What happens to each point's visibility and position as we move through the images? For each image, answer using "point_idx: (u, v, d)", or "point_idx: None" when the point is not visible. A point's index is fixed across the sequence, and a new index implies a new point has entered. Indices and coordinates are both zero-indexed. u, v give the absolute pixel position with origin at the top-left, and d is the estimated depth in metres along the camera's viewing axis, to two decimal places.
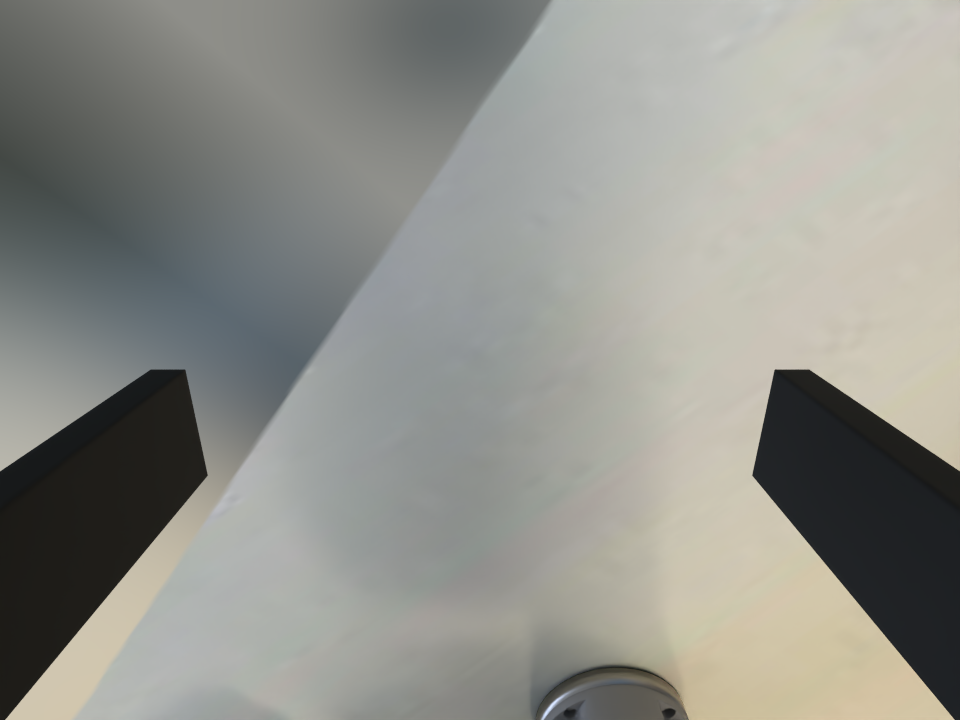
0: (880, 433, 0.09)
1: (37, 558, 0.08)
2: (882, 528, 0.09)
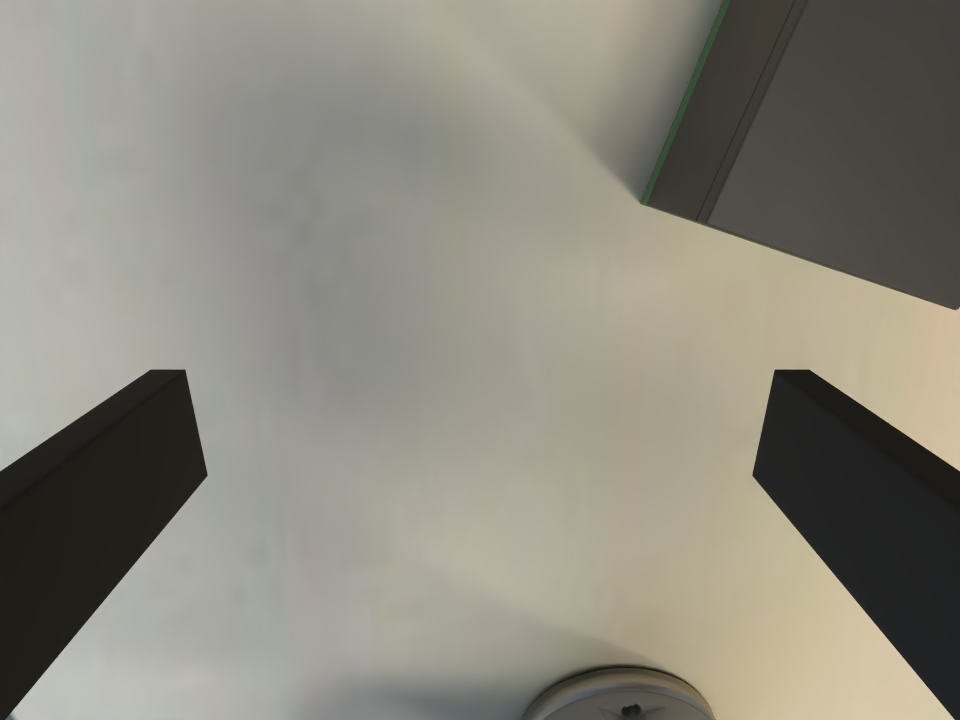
0: (880, 433, 0.09)
1: (37, 558, 0.08)
2: (881, 528, 0.09)
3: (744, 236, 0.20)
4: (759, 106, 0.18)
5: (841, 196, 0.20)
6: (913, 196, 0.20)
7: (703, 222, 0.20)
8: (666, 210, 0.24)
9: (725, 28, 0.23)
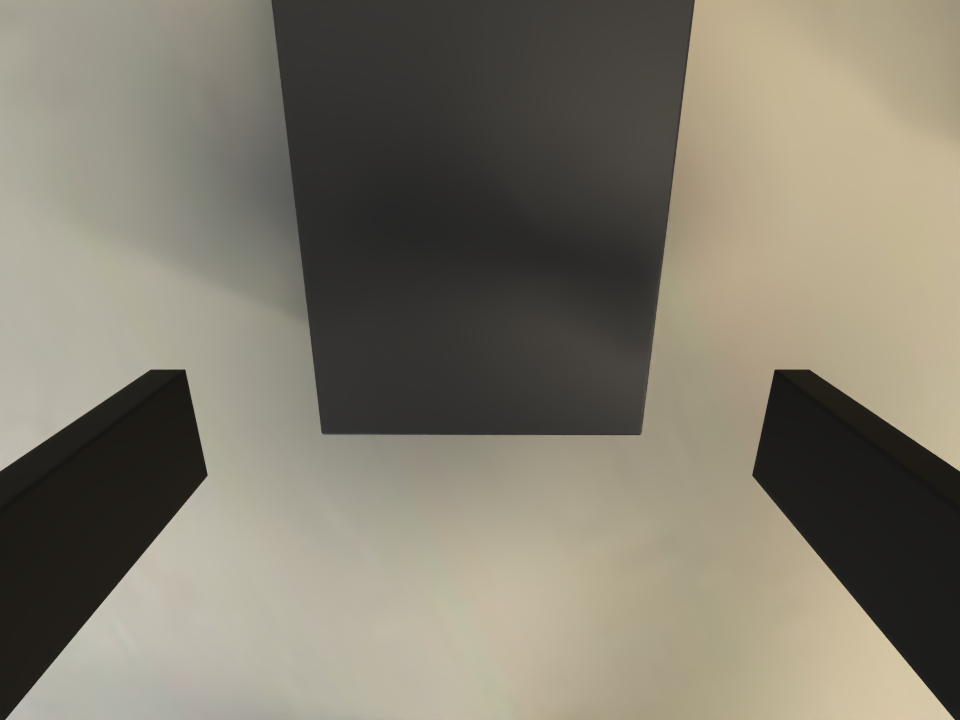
0: (880, 433, 0.09)
1: (37, 558, 0.08)
2: (881, 528, 0.09)
3: (368, 434, 0.18)
4: (308, 317, 0.17)
5: (445, 370, 0.17)
6: (523, 347, 0.17)
7: None
8: None
9: None
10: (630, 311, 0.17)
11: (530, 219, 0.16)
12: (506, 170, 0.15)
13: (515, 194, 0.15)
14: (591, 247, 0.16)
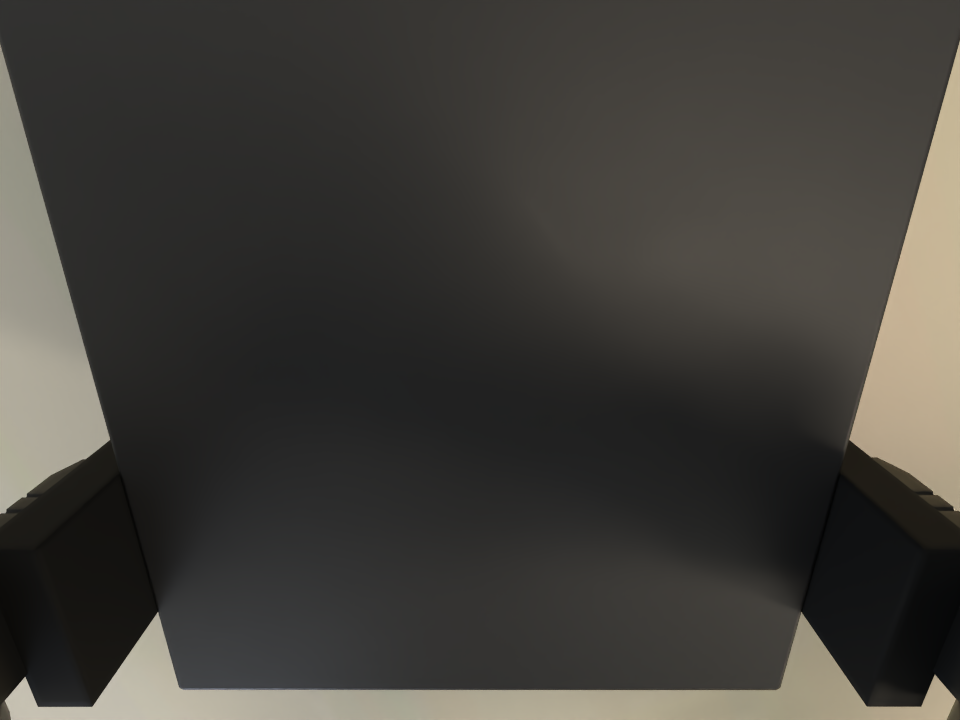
0: None
1: None
2: None
3: (266, 689, 0.10)
4: (126, 496, 0.08)
5: (407, 588, 0.09)
6: (562, 549, 0.09)
7: None
8: None
9: None
10: (784, 485, 0.08)
11: (585, 308, 0.07)
12: (534, 204, 0.07)
13: (553, 255, 0.07)
14: (714, 364, 0.07)
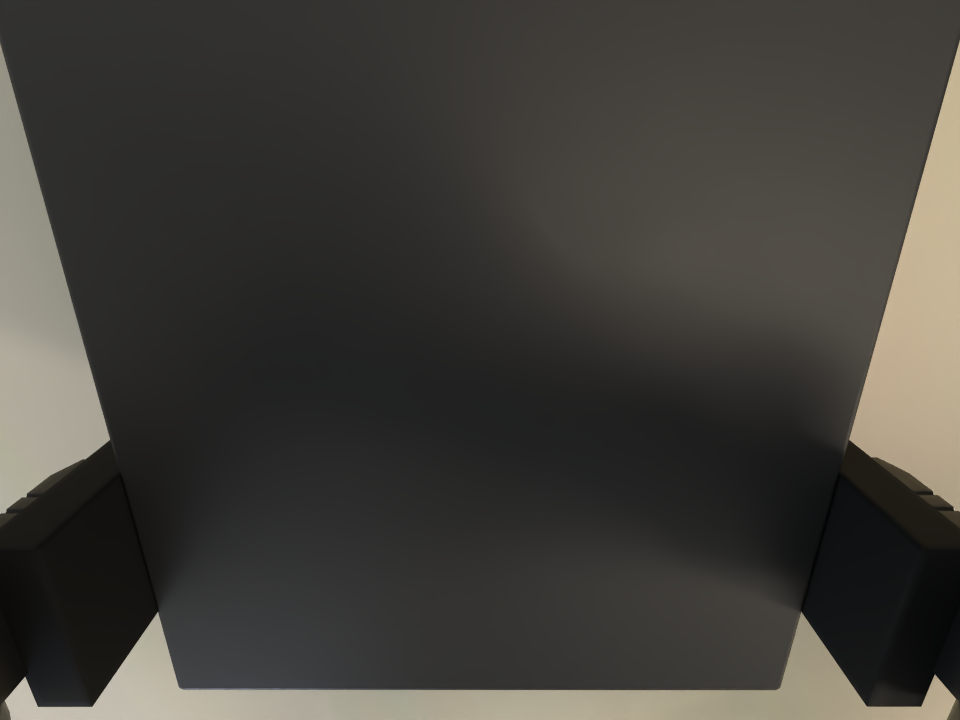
0: None
1: None
2: None
3: (266, 689, 0.10)
4: (126, 496, 0.08)
5: (407, 588, 0.09)
6: (562, 549, 0.09)
7: None
8: None
9: None
10: (784, 486, 0.08)
11: (585, 308, 0.07)
12: (535, 204, 0.07)
13: (553, 255, 0.07)
14: (714, 364, 0.07)
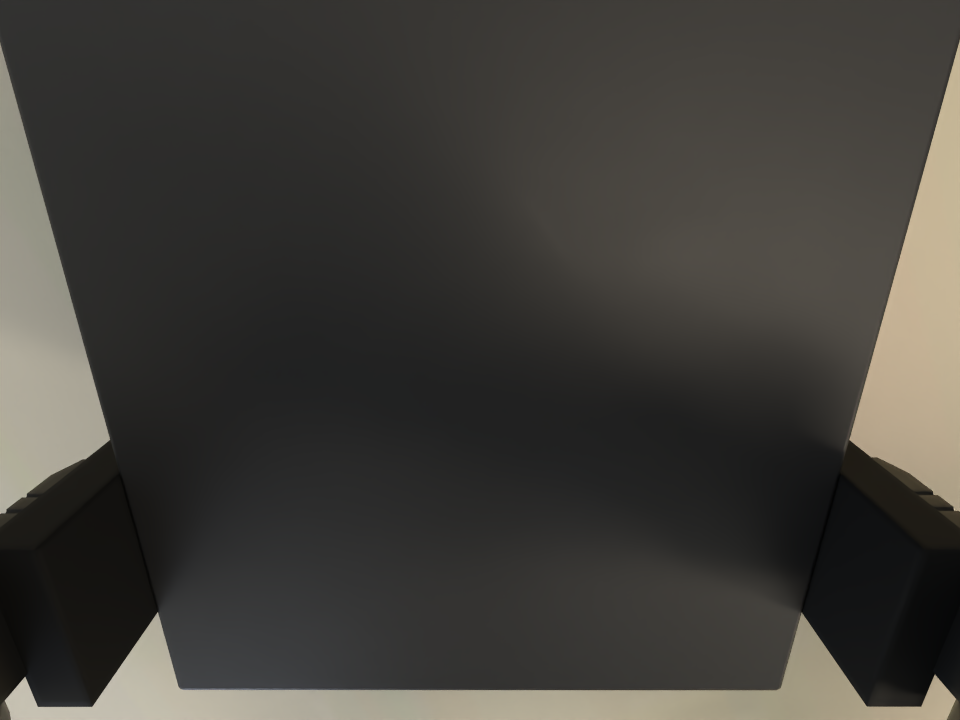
0: None
1: None
2: None
3: (266, 689, 0.10)
4: (126, 496, 0.08)
5: (407, 588, 0.09)
6: (562, 548, 0.09)
7: None
8: None
9: None
10: (784, 485, 0.08)
11: (585, 307, 0.07)
12: (535, 202, 0.07)
13: (553, 254, 0.07)
14: (714, 364, 0.07)
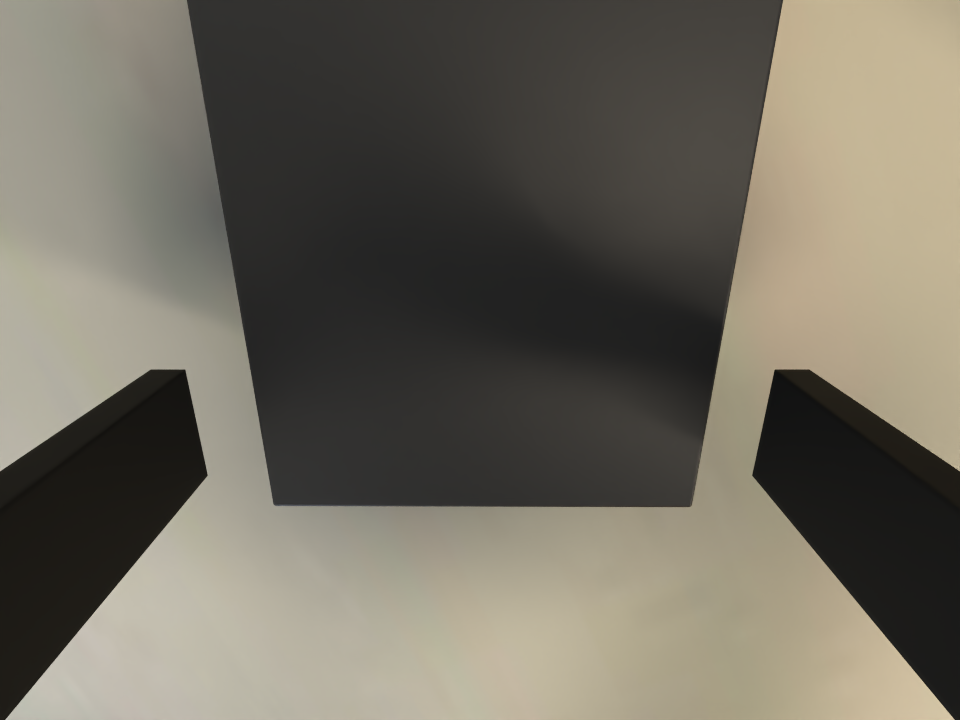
0: (880, 433, 0.09)
1: (37, 558, 0.08)
2: (882, 528, 0.09)
3: (334, 505, 0.14)
4: None
5: (434, 426, 0.13)
6: (538, 397, 0.13)
7: None
8: None
9: None
10: (684, 350, 0.12)
11: (550, 226, 0.11)
12: (518, 158, 0.11)
13: (530, 191, 0.11)
14: (634, 265, 0.12)
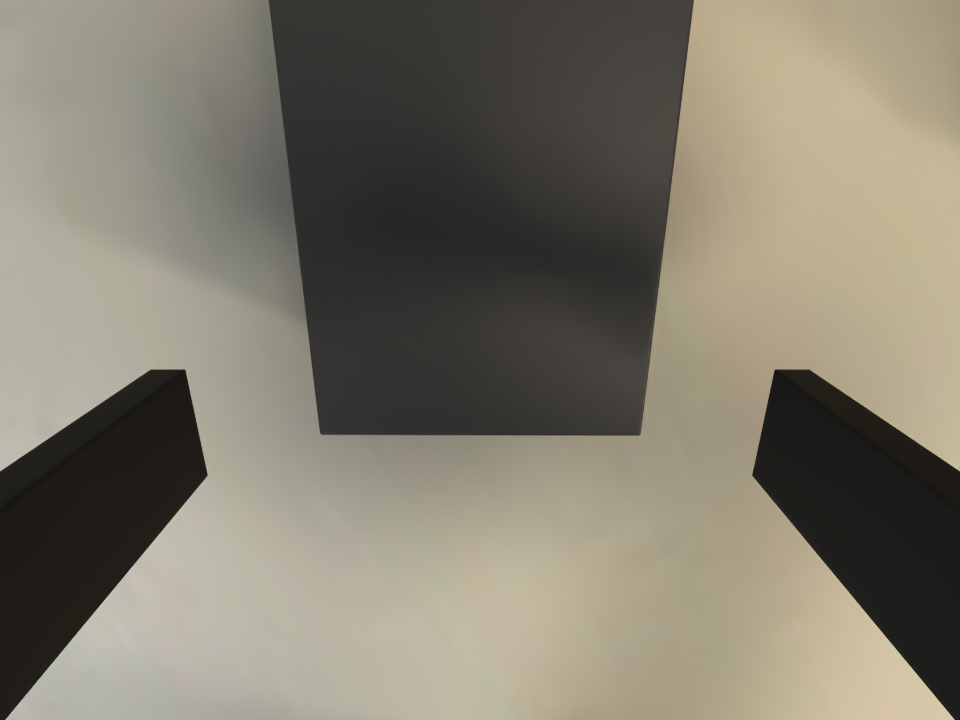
0: (880, 433, 0.09)
1: (37, 558, 0.08)
2: (881, 528, 0.09)
3: (366, 434, 0.18)
4: (307, 317, 0.17)
5: (443, 370, 0.17)
6: (522, 347, 0.17)
7: None
8: None
9: None
10: (629, 311, 0.17)
11: (529, 219, 0.16)
12: (505, 170, 0.15)
13: (514, 194, 0.15)
14: (590, 247, 0.16)
